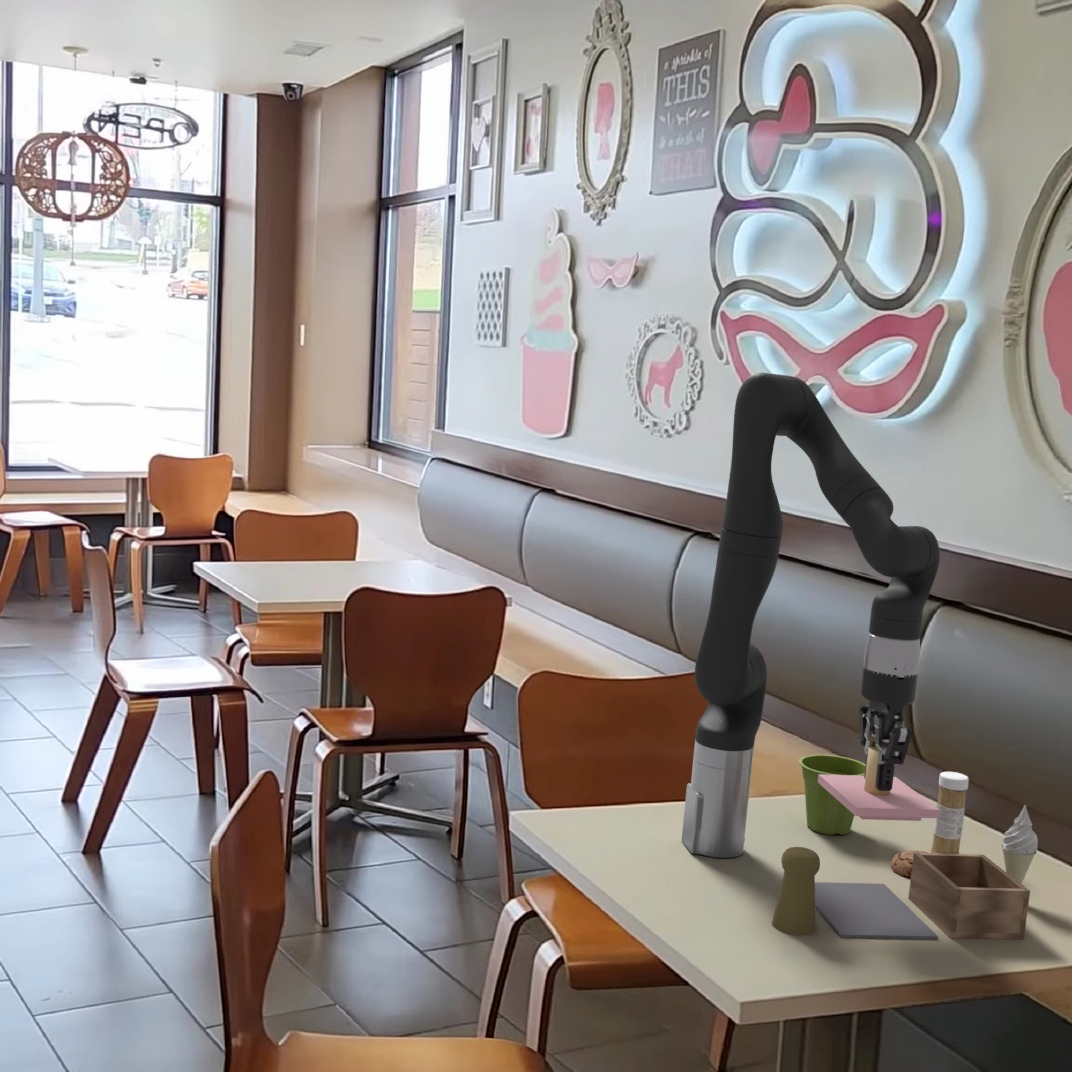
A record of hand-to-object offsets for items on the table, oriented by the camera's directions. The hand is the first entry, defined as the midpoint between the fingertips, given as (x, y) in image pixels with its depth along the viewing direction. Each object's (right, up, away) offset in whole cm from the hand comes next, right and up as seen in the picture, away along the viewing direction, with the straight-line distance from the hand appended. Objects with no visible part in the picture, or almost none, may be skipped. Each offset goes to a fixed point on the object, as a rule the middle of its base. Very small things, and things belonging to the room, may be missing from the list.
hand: (877, 784), depth 197 cm
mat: (-1, -18, +2) cm, 19 cm away
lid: (0, -3, 0) cm, 3 cm away
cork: (-13, -19, -6) cm, 23 cm away
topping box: (+13, -20, +3) cm, 24 cm away
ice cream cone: (+23, -20, +11) cm, 32 cm away
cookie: (+12, -18, +21) cm, 30 cm away
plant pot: (+1, -14, +38) cm, 40 cm away
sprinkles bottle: (+18, -17, +29) cm, 38 cm away
